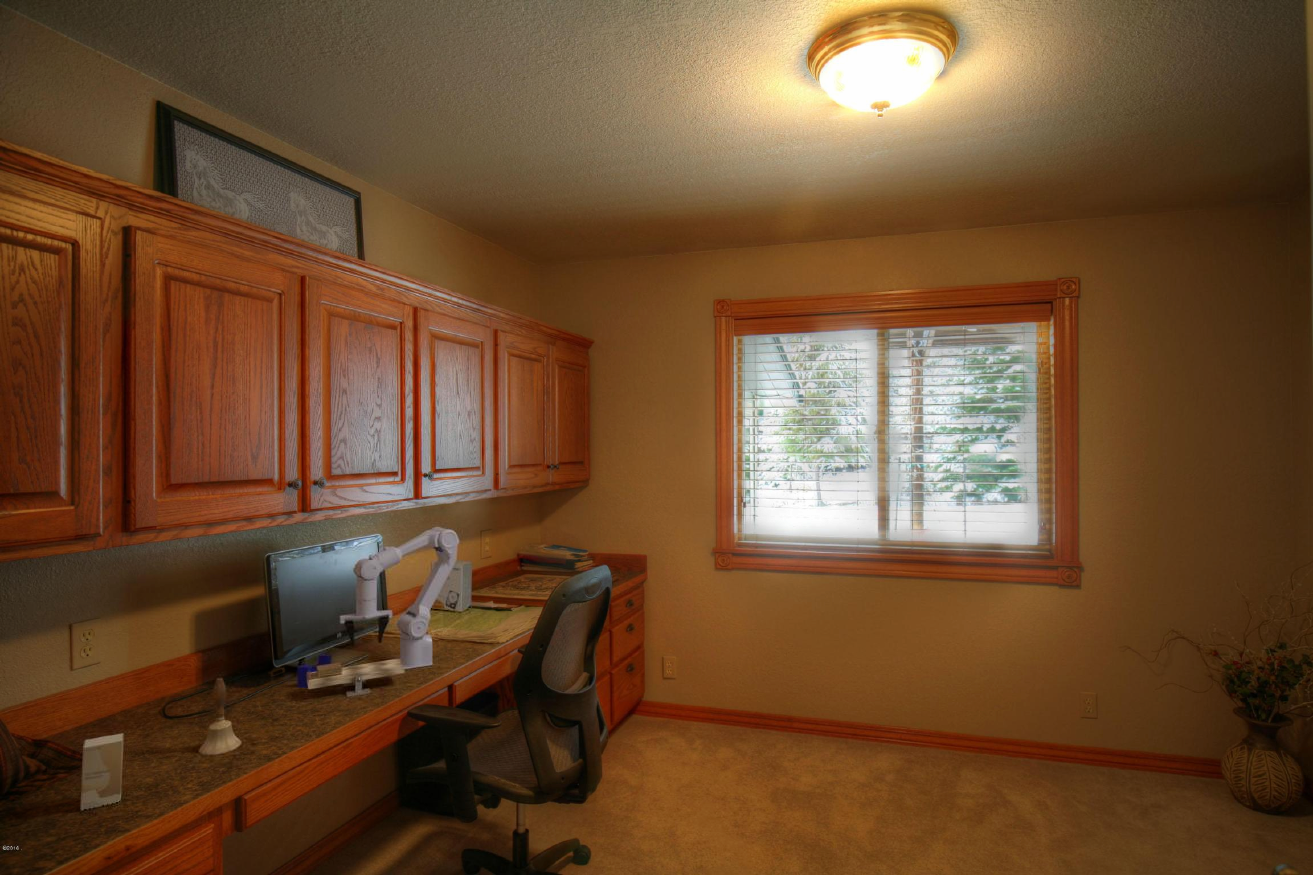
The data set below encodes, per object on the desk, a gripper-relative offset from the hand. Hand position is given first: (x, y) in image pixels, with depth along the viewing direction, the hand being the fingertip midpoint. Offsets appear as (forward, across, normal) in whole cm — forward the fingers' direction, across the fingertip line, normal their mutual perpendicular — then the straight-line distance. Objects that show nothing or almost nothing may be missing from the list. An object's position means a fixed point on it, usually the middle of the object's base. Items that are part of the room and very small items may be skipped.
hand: (366, 643), depth 209 cm
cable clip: (+10, -14, +3) cm, 18 cm away
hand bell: (+10, -36, -36) cm, 52 cm away
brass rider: (+5, -11, -11) cm, 16 cm away
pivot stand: (+9, -4, -11) cm, 15 cm away
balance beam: (+5, -4, -11) cm, 13 cm away
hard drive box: (+10, +42, +69) cm, 81 cm away
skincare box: (+10, -55, -53) cm, 77 cm away
